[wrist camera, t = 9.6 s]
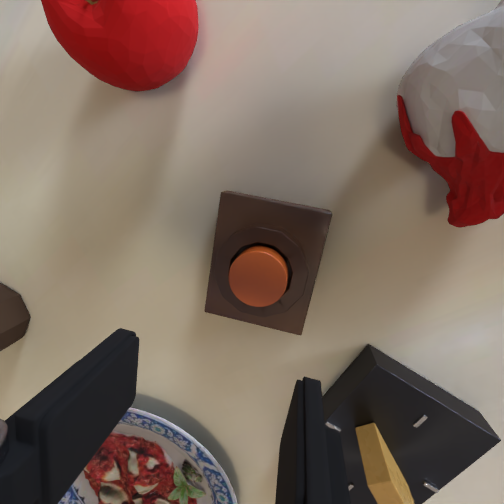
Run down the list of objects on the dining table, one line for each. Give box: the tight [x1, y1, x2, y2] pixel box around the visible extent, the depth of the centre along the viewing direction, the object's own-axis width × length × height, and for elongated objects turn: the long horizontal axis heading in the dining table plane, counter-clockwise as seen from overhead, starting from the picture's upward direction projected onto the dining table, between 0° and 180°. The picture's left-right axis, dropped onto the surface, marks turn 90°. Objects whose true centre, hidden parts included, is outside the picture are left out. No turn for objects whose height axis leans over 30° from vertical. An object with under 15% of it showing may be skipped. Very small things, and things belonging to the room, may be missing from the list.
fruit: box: [41, 0, 198, 91], centre depth 18 cm, size 9×9×10 cm
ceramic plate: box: [58, 407, 237, 504], centre depth 34 cm, size 26×26×3 cm
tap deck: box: [322, 344, 501, 504], centre depth 27 cm, size 15×12×3 cm
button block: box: [205, 191, 332, 335], centre depth 24 cm, size 11×9×4 cm
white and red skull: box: [397, 0, 504, 227], centre depth 16 cm, size 9×11×15 cm
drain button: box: [228, 246, 288, 307], centre depth 21 cm, size 4×4×2 cm
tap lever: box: [355, 423, 415, 504], centre depth 23 cm, size 8×2×5 cm, turn 29°
